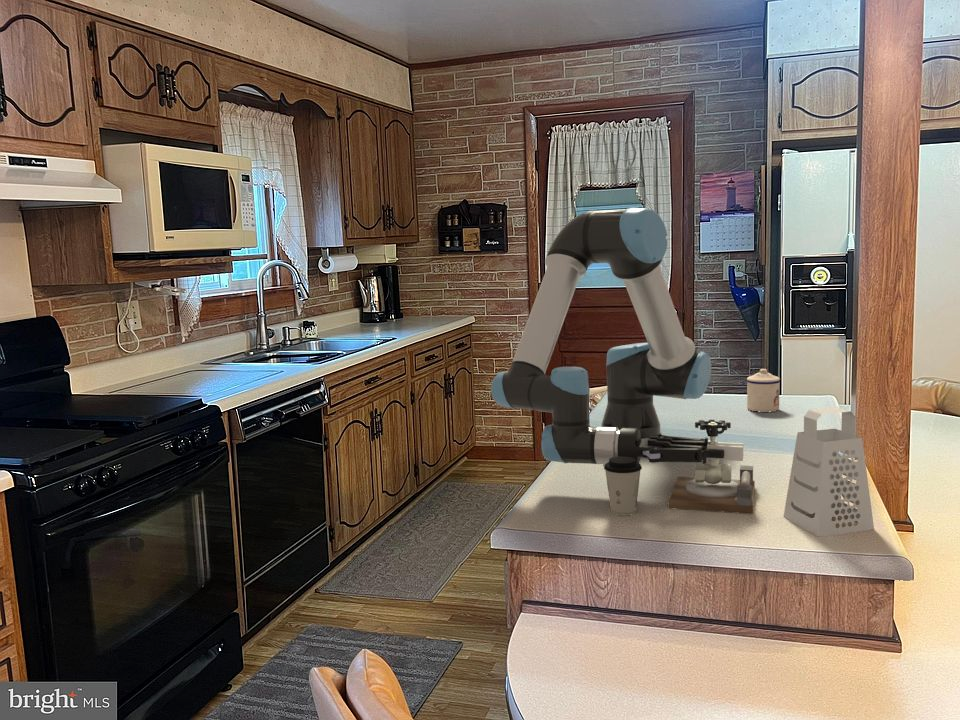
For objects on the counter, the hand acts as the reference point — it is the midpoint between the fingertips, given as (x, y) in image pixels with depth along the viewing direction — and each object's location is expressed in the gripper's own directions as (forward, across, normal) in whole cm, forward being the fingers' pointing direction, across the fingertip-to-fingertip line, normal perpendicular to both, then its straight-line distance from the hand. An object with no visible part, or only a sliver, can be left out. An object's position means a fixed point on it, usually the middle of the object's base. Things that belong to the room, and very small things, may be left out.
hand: (742, 452), depth 157 cm
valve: (-6, 0, -7) cm, 9 cm away
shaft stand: (-6, 0, -9) cm, 11 cm away
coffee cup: (-21, +12, -10) cm, 26 cm away
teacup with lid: (+2, -85, -9) cm, 86 cm away
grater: (+14, +10, -10) cm, 20 cm away
